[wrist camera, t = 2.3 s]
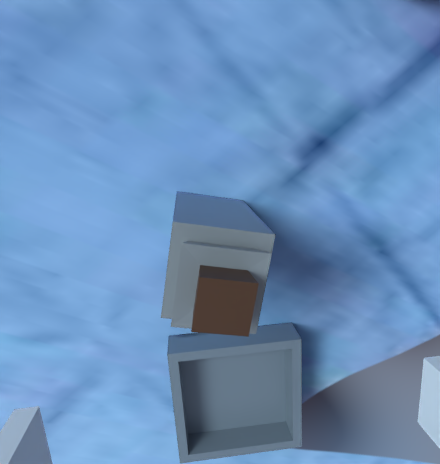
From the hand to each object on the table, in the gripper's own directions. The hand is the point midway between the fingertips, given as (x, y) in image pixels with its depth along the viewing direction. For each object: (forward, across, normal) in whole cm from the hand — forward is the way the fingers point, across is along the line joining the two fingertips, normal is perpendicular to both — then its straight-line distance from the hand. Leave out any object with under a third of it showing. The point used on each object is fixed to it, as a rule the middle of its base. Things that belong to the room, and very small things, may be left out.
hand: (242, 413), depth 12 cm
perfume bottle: (+26, 0, 0) cm, 26 cm away
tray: (+26, +2, -19) cm, 32 cm away
